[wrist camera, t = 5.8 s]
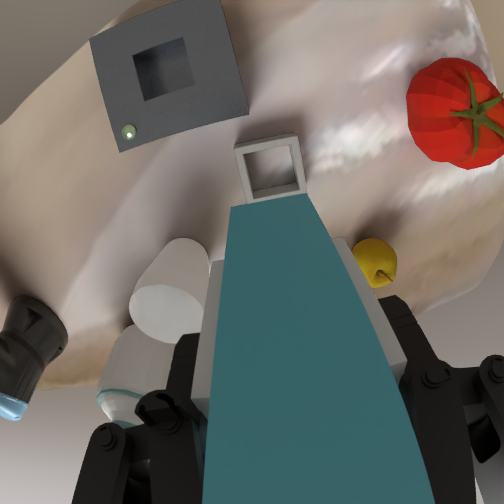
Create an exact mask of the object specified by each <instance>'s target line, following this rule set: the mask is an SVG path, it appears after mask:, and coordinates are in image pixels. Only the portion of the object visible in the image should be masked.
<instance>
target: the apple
mask: <svg viewBox="0 0 504 504" xmlns="http://www.w3.org/2000/svg"><path fill="white" fill-rule="evenodd" d="M352 254H353V256H354V257H355V259H356V261H357V263H358V264H359V266H360V268H361V270H362V272H363V273H364V275H365V277H366V279H367V281H368V283H369V285H370V286H371V287H372V288H375V287H380V286H384V285H387V284H389V283H390V282H393V279H394V277H395V275H396V268H397V256H396V253H395V251H394V250H393V249H392V248H391V247H390V246H389V245H388V244H387V243H386V242H384V241H382V240H380V239H376V238H368V239H365V240H362V241H360V242H359V243H357V244H356V245H355V246H354V247H353V249H352Z"/></svg>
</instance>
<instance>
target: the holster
mask: <svg viewBox="0 0 504 504" xmlns="http://www.w3.org/2000/svg"><path fill="white" fill-rule="evenodd" d="M285 145H289V147H290V152H291V158H292V163H293V168H294V174H295V179H296V183H290V184H285V185H280V186H275V187H270V188H265V189H261V190H256V191H253V189H252V185H251V180H250V176H249V172H248V168H247V164H246V160H245V156H244V154H246V153H251V152H255V151H260V150H265V149H270V148H275V147H280V146H285ZM234 153H235V157H236V161H237V165H238V169H239V173H240V177H241V181H242V185H243V189H244V193H245V197H246V201H247V204H249V203H254V202H259V201H265V200H270V199H275V198H280V197H286V196H291V195H297V194H302V193H307V187H306V181H305V175H304V169H303V163H302V157H301V152H300V147H299V141H298V136H297V135H296V134H295V133H288V134H283V135H277V136H272V137H267V138H262V139H258V140H253V141H248V142H244V143H239V144H235V145H234ZM307 195H308V193H307Z"/></svg>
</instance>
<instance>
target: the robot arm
mask: <svg viewBox="0 0 504 504" xmlns="http://www.w3.org/2000/svg"><path fill="white" fill-rule="evenodd" d="M331 240H332V241H333V243H334V245H335V247H336V249H337V251H338V253H339V255H340V257H341V259H342V261H343V263H344V265H345V267H346V269H347V271H348V273H349V275H350V278H351V280H352V282H353V284H354V286H355V288H356V290H357V292H358V294H359V296H360V299H361V301H362V303H363V305H364V307H365V309H366V312H367V314H368V316H369V318H370V321H371V323H372V325H373V327H374V330H375V332H376V334H377V337H378V339H379V341H380V344H381V346H382V348H383V351H384V353H385V356H386V358H387V361H388V363H389V365H390V368H391V370H392V373H393V375H394V378H395V381H396V383H397V386H398V388H399V391H400V394H401V396H402V399H403V402H404V405H405V407H406V410H407V413H408V416H409V419H410V421H411V424H412V427H413V430H414V433H415V436H416V439H417V442H418V445H419V448H420V452H421V455H422V458H423V461H424V465H425V468H426V472H427V475H428V479H429V482H430V486H431V490H432V493H433V497H434V501H435V504H476V487H475V478H476V480H477V483H478V486H479V489H480V492H481V495H482V498H483V501H484V504H504V357H503V356H501V355H491V356H488V357H487V358H485V359H484V360H483V361H482V363H481V365H480V367H469V368H453V367H451V366H450V365H449V364H447V363H446V362H444V361H441V360H439V359H438V358H437V356H436V355H435V353H434V351H433V349H432V347H431V345H430V344H429V342H428V340H427V338H426V337H425V335H424V333H423V331H422V329H421V328H420V326H419V325H418V324H417V321H416V319H415V317H414V315H412V312H411V310H410V309H409V307H408V305H407V304H406V303H405V302H404V301H403V300H401V299H400V298H399V297H397V296H396V295H393V296H389V297H385V298H381V299H377V298H376V296H375V294H374V292H373V290H372V288H371V286H370V285H369V283H368V281H367V279H366V277H365V275H364V273H363V272H362V270H361V268H360V266H359V264H358V263H357V261H356V259H355V257H354V256H353V254H352V252H351V250H350V249H349V247H348V245H347V244H346V242H345V240H344V238H343V237H341V238H336V239H331ZM223 268H224V260H219V261H213V262H212V267H211V273H210V278H209V284H208V290H207V295H206V301H205V307H204V313H203V319H202V325H201V332H199V333H191V334H183V335H182V336H181V338H180V339H179V341H178V342H177V343H176V345H175V348H174V353H173V357H172V358H173V360H172V362H171V366H170V367H171V369H170V371H169V375H168V380H167V385H166V390H165V389H162V390H154V391H151V392H148V393H147V394H146V395H144V396H143V397H142V398H141V399H140V400H139V402H138V403H137V404H136V407H135V411H134V413H135V414H136V415H137V416H138V417H139V418H140V419H141V420H142V421H143V422H144V424H140V425H137V426H133V427H129V428H125V429H123V428H122V427H121V426H120V425H118V424H116V423H113V422H111V423H104V424H102V425H100V426H99V427H98V428H97V429H95V431H94V432H93V434H92V436H91V438H90V441H89V444H88V447H87V450H86V454H85V457H84V461H83V463H82V467H81V470H80V474H79V477H78V481H77V485H76V489H75V492H74V496H73V500H72V504H202V499H203V482H204V467H205V453H206V439H207V427H208V414H209V403H210V391H211V380H212V370H213V359H214V349H215V339H216V330H217V320H218V311H219V302H220V293H221V285H222V276H223ZM67 342H68V336H67V332H66V330H65V328H64V326H63V324H62V323H61V321H60V320H59V319H58V317H57V316H56V315H55V314H54V313H53V312H52V311H51V310H50V309H49V308H48V307H46V306H45V305H44V304H42V303H41V302H39V301H38V300H36V299H34V298H31V297H28V296H19V297H17V298H15V300H14V301H13V302H12V303H11V305H10V307H9V309H8V312H7V315H6V319H5V322H4V326H3V329H2V331H1V333H0V416H2V417H4V418H6V419H9V420H13V421H17V420H19V419H21V417H22V415H23V414H24V412H25V410H26V408H27V407H28V406H29V405H28V404H29V401H30V399H31V397H32V395H33V392H34V390H35V388H36V386H37V384H38V382H39V380H40V378H41V375H42V373H43V371H44V369H45V368H46V366H47V365H49V364H50V363H51V362H52V361H53V360H54V359H56V358H57V357H58V356H59V355H60V354H61V353H62V352H63V351H64V349H65V347H66V345H67ZM474 475H475V476H474Z"/></svg>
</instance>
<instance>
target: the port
mask: <svg viewBox="0 0 504 504" xmlns="http://www.w3.org/2000/svg"><path fill="white" fill-rule="evenodd" d="M89 41H90V46H91V50H92V55H93V59H94V63H95V68H96V72H97V76H98V80H99V84H100V88H101V91H102V95H103V99H104V102H105V106H106V110H107V113H108V116H109V120H110V123H111V127H112V130H113V133H114V136H115V140H116V143H117V146H118V149H119V152H123V151H126V150H129V149H131V148H134V147H137V146H140V145H143V144H145V143H148V142H151V141H154V140H157V139H160V138H163V137H167V136H170V135H173V134H176V133H180V132H183V131H186V130H190V129H193V128H197V127H200V126H204V125H208V124H212V123H216V122H219V121H223V120H228V119H232V118H236V117H240V116H245V115H249V109H248V105H247V101H246V97H245V93H244V89H243V85H242V81H241V77H240V73H239V69H238V65H237V61H236V57H235V53H234V49H233V46H232V42H231V38H230V34H229V30H228V27H227V23H226V19H225V15H224V12H223V8H222V5H221V1H220V0H181V1H178V2H174V3H171V4H168V5H165V6H163V7H160V8H157V9H154V10H152V11H149V12H146V13H144V14H141V15H139V16H136V17H134V18H132V19H129V20H127V21H125V22H122V23H120V24H118V25H116V26H114V27H112V28H109V29H107V30H105V31H103V32H101V33H99V34H97V35H95V36H94V37H92V38H90V39H89Z"/></svg>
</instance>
